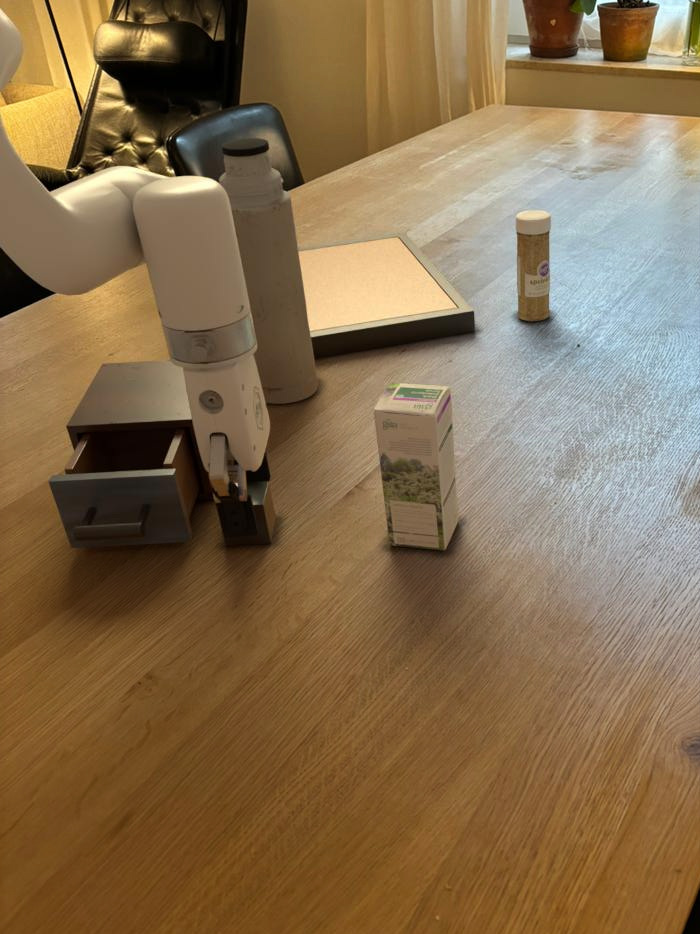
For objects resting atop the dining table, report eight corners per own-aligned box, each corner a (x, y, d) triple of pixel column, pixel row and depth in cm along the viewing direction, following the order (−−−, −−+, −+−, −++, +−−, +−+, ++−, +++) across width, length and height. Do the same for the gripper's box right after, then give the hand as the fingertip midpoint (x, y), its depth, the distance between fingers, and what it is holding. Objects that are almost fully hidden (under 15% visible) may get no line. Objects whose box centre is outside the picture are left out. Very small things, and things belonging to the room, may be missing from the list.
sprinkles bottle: (539, 324, 138) (539, 221, 130) (510, 318, 140) (508, 216, 132) (556, 313, 141) (557, 211, 132) (527, 307, 143) (527, 207, 134)
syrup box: (460, 520, 101) (452, 382, 92) (445, 553, 96) (435, 412, 87) (404, 515, 102) (391, 378, 93) (387, 548, 97) (371, 407, 88)
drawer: (181, 570, 94) (163, 501, 90) (57, 577, 94) (32, 508, 90) (213, 471, 108) (198, 407, 104) (105, 477, 108) (86, 413, 104)
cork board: (406, 250, 163) (182, 283, 156) (405, 232, 162) (178, 264, 154) (475, 331, 137) (208, 376, 129) (474, 310, 135) (203, 354, 127)
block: (225, 546, 99) (216, 507, 96) (232, 521, 102) (223, 483, 99) (271, 543, 99) (263, 504, 96) (276, 519, 102) (268, 480, 99)
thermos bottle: (239, 397, 124) (189, 148, 106) (277, 371, 130) (236, 130, 112) (294, 408, 121) (252, 154, 104) (330, 381, 127) (296, 135, 109)
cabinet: (214, 499, 106) (195, 419, 100) (91, 506, 106) (65, 426, 100) (234, 432, 117) (218, 357, 111) (123, 439, 117) (102, 363, 111)
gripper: (240, 375, 81) (277, 555, 92) (266, 296, 95) (296, 460, 105) (145, 381, 81) (193, 560, 92) (185, 301, 95) (223, 465, 105)
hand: (248, 507), depth 99 cm, fingers open, 9 cm apart
